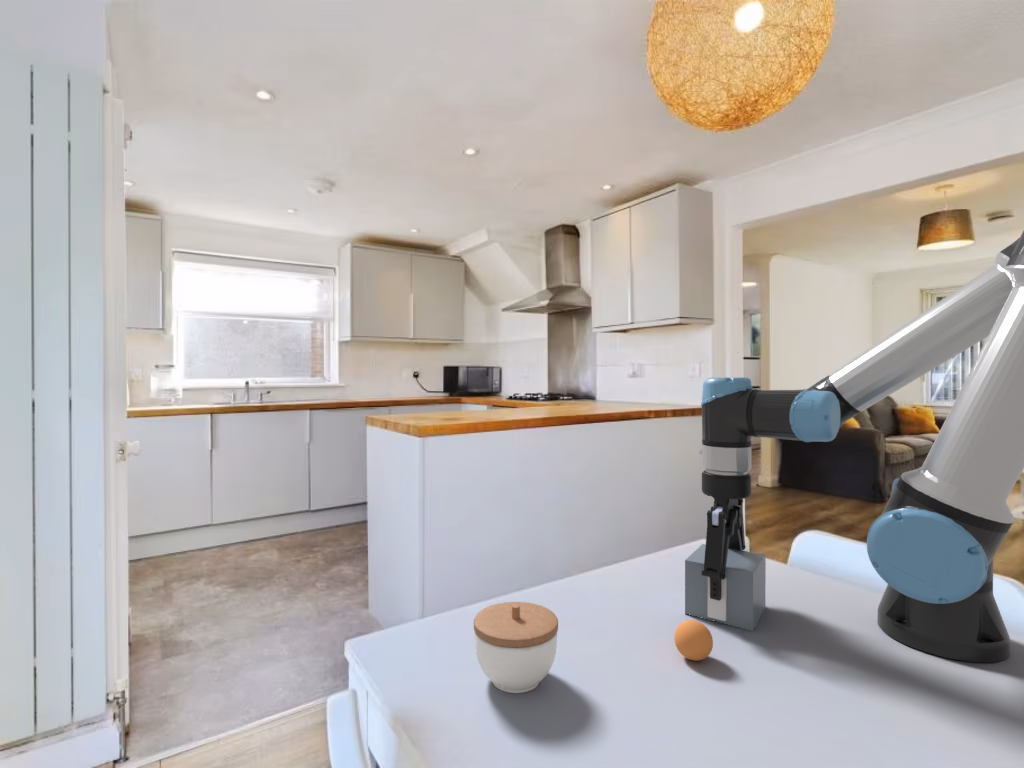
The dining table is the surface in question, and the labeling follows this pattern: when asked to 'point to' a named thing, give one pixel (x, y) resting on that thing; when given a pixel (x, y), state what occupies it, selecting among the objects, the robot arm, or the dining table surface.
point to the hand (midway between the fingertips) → (725, 605)
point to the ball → (693, 640)
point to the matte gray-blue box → (729, 587)
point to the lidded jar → (515, 644)
